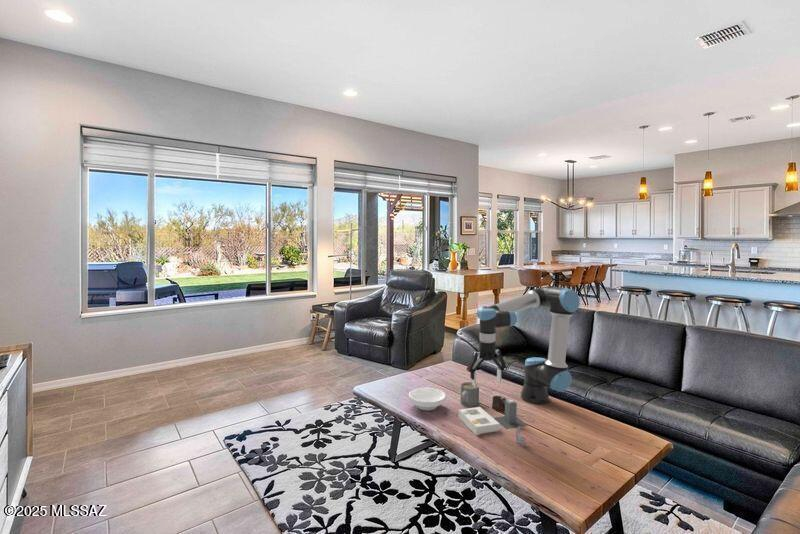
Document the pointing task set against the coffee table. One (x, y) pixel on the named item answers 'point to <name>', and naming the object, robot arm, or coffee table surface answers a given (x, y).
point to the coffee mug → (469, 394)
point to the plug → (510, 411)
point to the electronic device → (499, 403)
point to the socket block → (478, 420)
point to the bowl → (427, 398)
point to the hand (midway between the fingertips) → (486, 384)
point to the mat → (508, 426)
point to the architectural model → (519, 437)
